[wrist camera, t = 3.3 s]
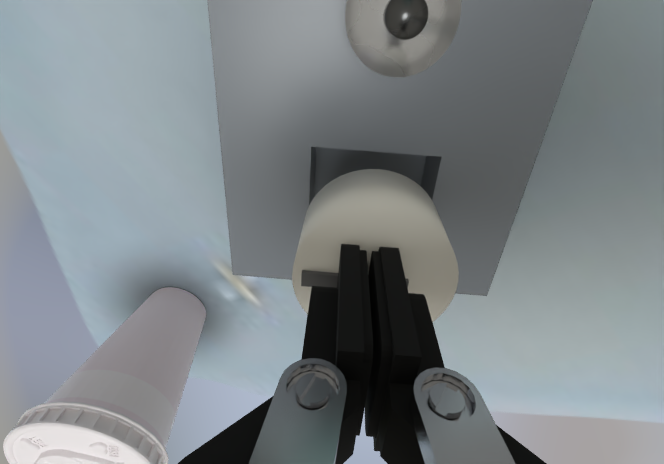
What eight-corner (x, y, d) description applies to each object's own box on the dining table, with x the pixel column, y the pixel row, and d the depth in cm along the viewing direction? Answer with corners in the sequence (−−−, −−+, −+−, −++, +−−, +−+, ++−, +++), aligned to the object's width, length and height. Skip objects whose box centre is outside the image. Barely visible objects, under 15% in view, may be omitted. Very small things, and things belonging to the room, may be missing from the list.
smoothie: (110, 273, 22) (-174, 573, 10) (211, 265, 22) (32, 578, 10) (149, 347, 26) (-33, 643, 14) (238, 342, 25) (129, 650, 13)
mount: (689, -482, 9) (852, -724, 6) (467, 254, 20) (486, 295, 17) (207, -508, 9) (137, -757, 6) (250, 236, 21) (232, 274, 18)
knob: (438, 152, 15) (479, 219, 10) (416, 256, 17) (440, 350, 12) (312, 142, 15) (292, 204, 10) (308, 247, 17) (290, 337, 12)
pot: (451, -39, 11) (487, -59, 8) (431, 69, 13) (455, 87, 10) (351, -46, 11) (349, -69, 8) (343, 62, 13) (339, 78, 10)
